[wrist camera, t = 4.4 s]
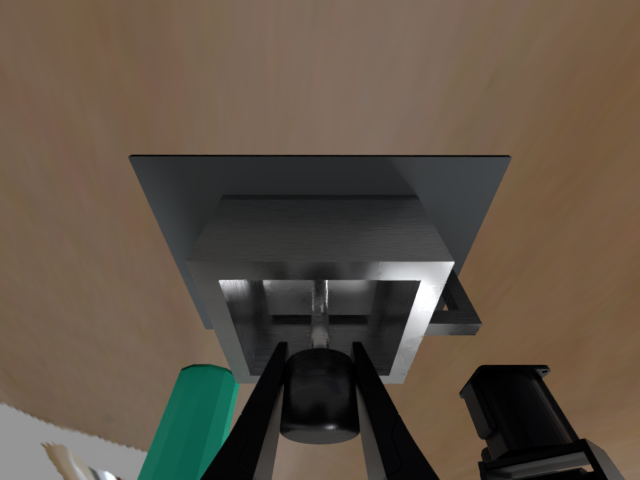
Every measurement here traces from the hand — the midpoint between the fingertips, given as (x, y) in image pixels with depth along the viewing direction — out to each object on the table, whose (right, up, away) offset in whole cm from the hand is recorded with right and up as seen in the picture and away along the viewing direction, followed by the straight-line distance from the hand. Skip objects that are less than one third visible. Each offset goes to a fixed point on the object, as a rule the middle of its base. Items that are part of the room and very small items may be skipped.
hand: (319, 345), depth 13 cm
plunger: (0, +3, +4) cm, 5 cm away
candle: (-11, -9, +15) cm, 20 cm away
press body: (+1, +3, +4) cm, 6 cm away
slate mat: (0, +4, +4) cm, 6 cm away
